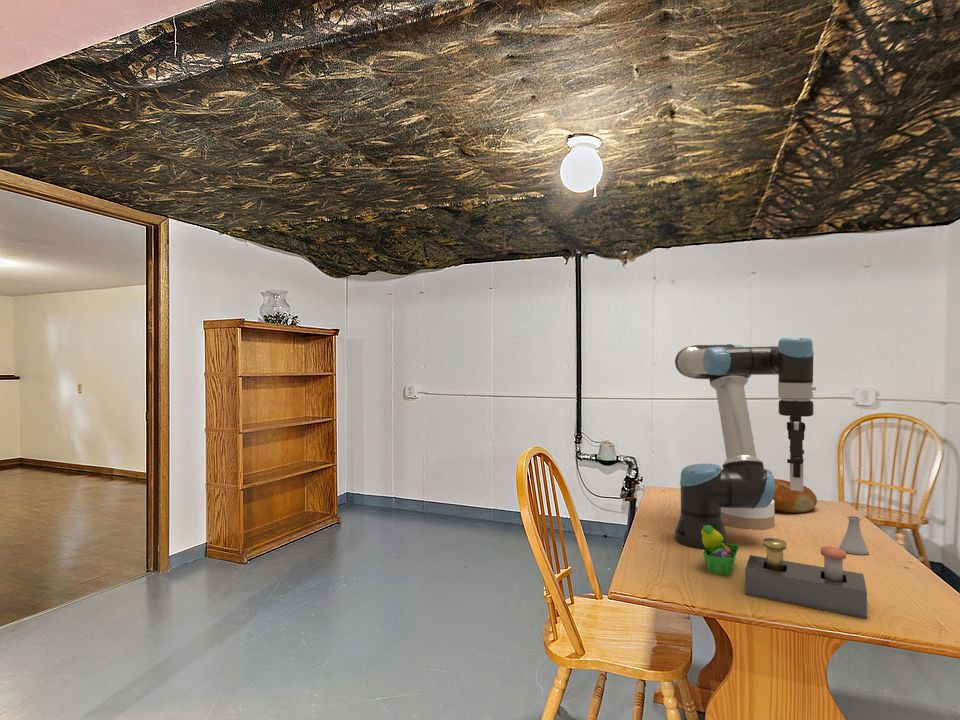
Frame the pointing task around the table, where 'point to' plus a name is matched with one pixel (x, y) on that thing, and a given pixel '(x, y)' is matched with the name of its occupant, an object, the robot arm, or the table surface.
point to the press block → (807, 587)
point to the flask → (854, 538)
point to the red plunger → (833, 563)
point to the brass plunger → (775, 553)
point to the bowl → (749, 517)
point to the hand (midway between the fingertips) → (796, 484)
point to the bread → (792, 498)
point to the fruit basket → (717, 551)
